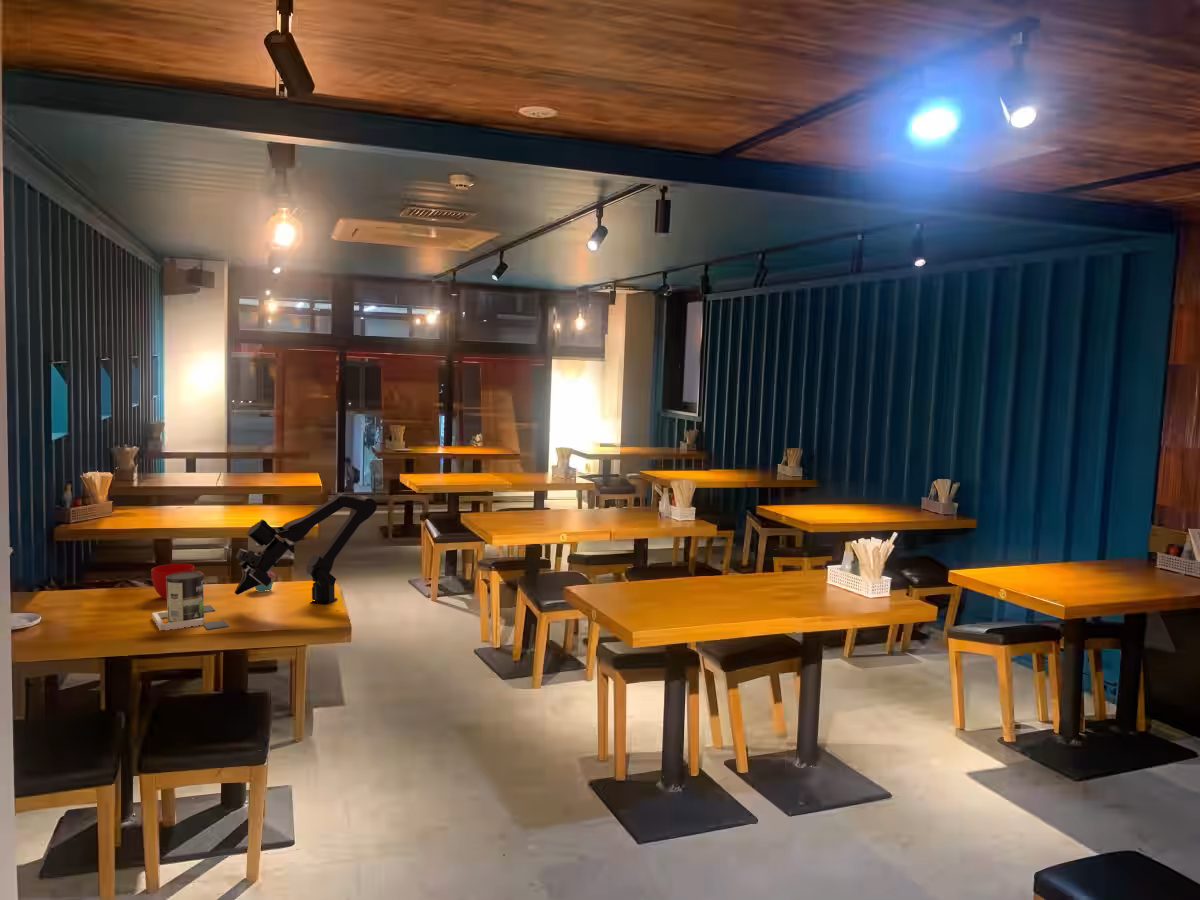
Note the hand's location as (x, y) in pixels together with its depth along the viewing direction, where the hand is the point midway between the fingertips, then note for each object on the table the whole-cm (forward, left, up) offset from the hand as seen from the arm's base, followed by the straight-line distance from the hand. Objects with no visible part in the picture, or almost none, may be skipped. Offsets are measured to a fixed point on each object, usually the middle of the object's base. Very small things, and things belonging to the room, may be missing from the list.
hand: (235, 593), depth 273 cm
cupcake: (+11, -27, -7) cm, 30 cm away
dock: (+10, +13, -6) cm, 18 cm away
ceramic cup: (+31, -10, -7) cm, 33 cm away
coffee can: (+9, +11, -7) cm, 16 cm away
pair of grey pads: (+5, +6, -6) cm, 10 cm away
